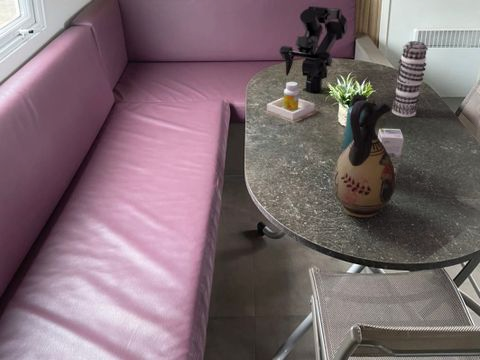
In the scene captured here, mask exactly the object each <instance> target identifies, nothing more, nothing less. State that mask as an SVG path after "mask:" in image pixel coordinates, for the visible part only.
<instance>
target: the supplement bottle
mask: <svg viewBox="0 0 480 360" xmlns="http://www.w3.org/2000/svg"><path fill="white" fill-rule="evenodd" d="M283 97H284V99H283V109H286V110H289V111H291V112H294V111H296V110H298V102H299V99H300V90H299V89H298V83H297V82H296V81H287V82H286V83H285V88H284V89H283Z"/></svg>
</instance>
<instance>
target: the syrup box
mask: <svg viewBox="0 0 480 360" xmlns="http://www.w3.org/2000/svg"><path fill="white" fill-rule="evenodd" d="M377 136H378V138H379V140H380V141H381V143H382V144H383V146H384V147H385V149H386V151H387V153H388V155H389V157H390V159H391V161H392V164H393V167H394V172H395V182H396V180H397V174H398V170H399V164H400V161H401V154H402V150H403V144H404V135H403V133H402V131H401V129H400V128H379V130H378V135H377Z"/></svg>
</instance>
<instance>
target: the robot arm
mask: <svg viewBox="0 0 480 360" xmlns="http://www.w3.org/2000/svg"><path fill="white" fill-rule="evenodd" d="M299 17H300V21H301V24H302V26H303V29H304V30H305V32H304V35H303V36H300V35H299V36H296V40H295V46H296V47H297V48H296V49H297V51H296V50H294V49H293V47H292V46H287V45H282V46H280V48H279V54H280V56H281V58H282V59H283V60H284V61H285V75H286V77H287V76H289V74H290V71H291V68H292V66H293V63H294V61H293V60H294V58H301V59H304V60H303V61H302V64H301V71H302V76H303V77H306V80H305V88H302V91H304V92H308V93H310V94H313V95H316V94H320V93H322V92H325V90H326V89H325V88H323V87H322V86H323V80H324V79H327V78H328V70H329V69H328V68H327V67H331V66H332V65H333V64H332V63H333V58H332V54H331V50H332V49H333V47H334V45H335V44H336V42H337V41H340V40H342V39H343V38H344V37H345V35H346V34H347V32H348V20H347V18H346V17H345V15H343V10H342V9H340V8H337V7H335V8H334V7H324V6H317V5H316V6H315V5H313V6H311V5H309V6H308V8H306V9H304V10H303V11H302V12H301V13H300V16H299ZM321 24H323V25H324V28H325V34H324V37H323V38H322V40H321V42H320V39H321V35H322V34H323V33H324V32H323V30H324V28H323V25H321ZM319 42H320V43H319Z"/></svg>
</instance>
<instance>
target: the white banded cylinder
mask: <svg viewBox="0 0 480 360" xmlns="http://www.w3.org/2000/svg"><path fill="white" fill-rule="evenodd" d="M402 48H403V50H402V55H401V58H400V59H399V60H398V64H399V65H398V66H397V68H398V69H397V77H396V82H397V84H396V85H397V86H396V88H395V92H394V93H393V94H394V96H393V101H392V105H391V107H392V109H391V112H392V114H394V115H395V116H398V117H402V118H403V117H404V118H409V117H414V116H416V115H417V110H418V108H417V107H418V106H419V104H418V103H419V101H420V100H419V98H420V87H421V84H423V80H424V78H423V77H424V76H425V73H424V71H426V66H427V63H426V59H427V57H426V55H427V51H428V50H429V48H428V47H426V43H424V42H422V41H415V40H414V41H408V42H407V43H406V44H404V45H403V46H402Z"/></svg>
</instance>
